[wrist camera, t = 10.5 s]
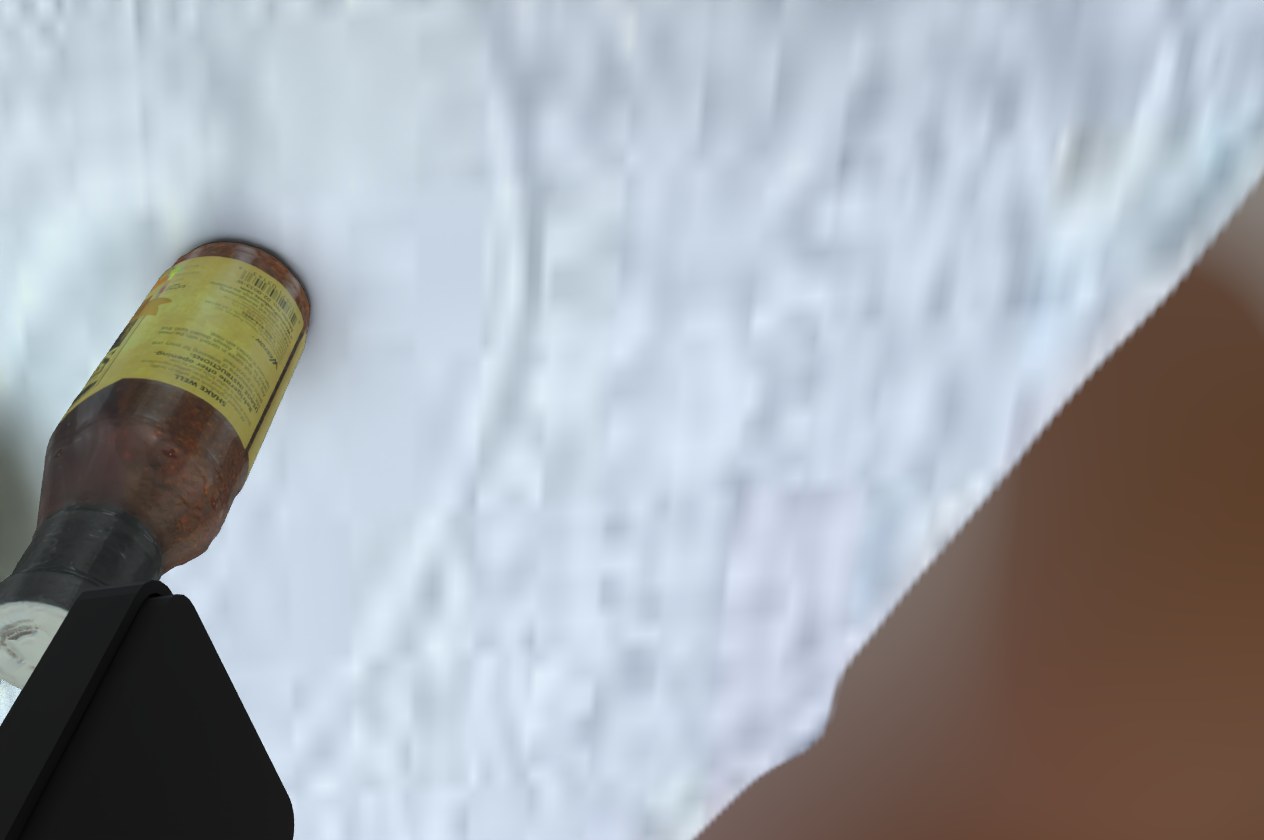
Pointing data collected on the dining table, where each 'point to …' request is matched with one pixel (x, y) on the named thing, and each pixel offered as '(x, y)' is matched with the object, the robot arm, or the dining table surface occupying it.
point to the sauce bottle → (157, 439)
